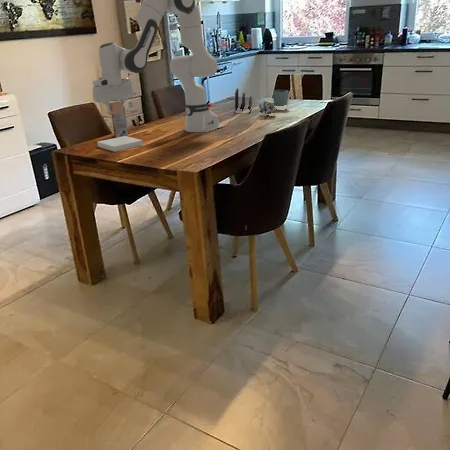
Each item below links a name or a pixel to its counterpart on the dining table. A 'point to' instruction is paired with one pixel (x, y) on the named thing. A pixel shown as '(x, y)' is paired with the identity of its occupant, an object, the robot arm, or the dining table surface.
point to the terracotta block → (116, 107)
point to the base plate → (120, 143)
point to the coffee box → (120, 124)
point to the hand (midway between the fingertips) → (115, 109)
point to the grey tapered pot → (280, 97)
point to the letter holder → (242, 101)
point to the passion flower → (267, 107)
